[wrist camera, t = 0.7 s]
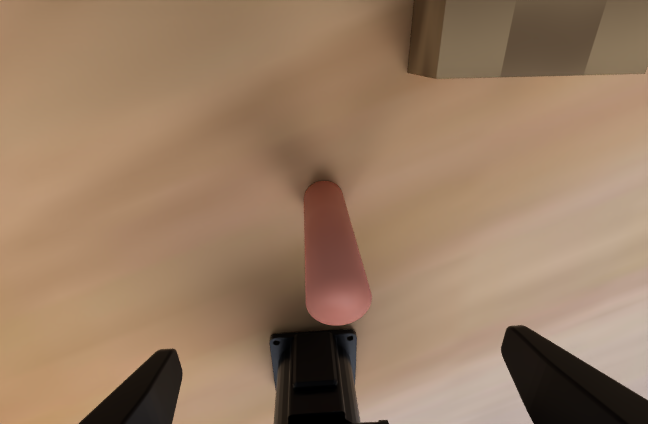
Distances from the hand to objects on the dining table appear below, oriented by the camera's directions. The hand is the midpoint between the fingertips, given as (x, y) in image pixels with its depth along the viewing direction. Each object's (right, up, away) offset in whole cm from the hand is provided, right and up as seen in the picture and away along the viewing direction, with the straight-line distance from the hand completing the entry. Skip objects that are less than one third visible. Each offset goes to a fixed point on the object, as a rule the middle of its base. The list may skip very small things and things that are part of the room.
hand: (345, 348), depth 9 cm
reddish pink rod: (-1, +4, +11) cm, 12 cm away
